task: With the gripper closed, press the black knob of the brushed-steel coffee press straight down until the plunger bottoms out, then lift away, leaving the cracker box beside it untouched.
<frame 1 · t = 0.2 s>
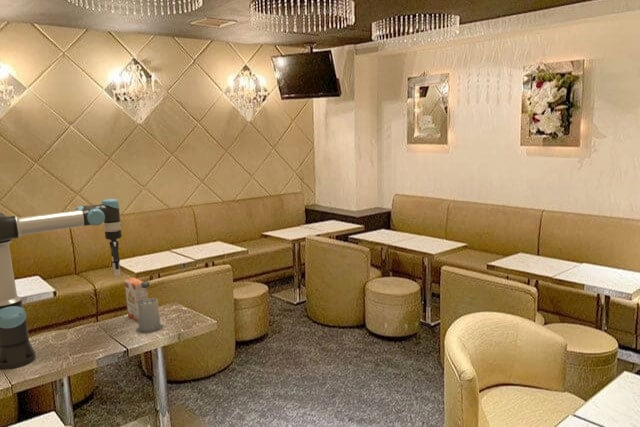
hand: (116, 272, 264), 29 cm above the table, fingers open, 13 cm apart
coaster: (149, 329, 263), on the table
cracker box: (138, 319, 279), on the table
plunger: (146, 294, 260), point 18 cm above the table, slide at 0.0 cm
carafe: (149, 328, 263), resting on coaster
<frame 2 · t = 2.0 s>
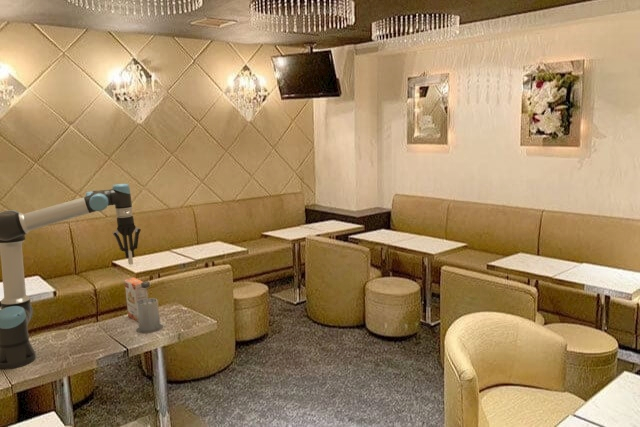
hand: (130, 263, 256), 34 cm above the table, fingers closed
nothing on the table moved.
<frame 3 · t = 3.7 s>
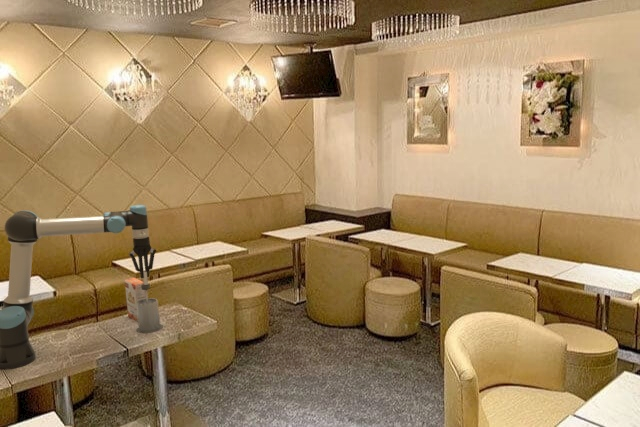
hand: (145, 284, 259), 24 cm above the table, fingers closed
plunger: (146, 296, 260), point 17 cm above the table, slide at 1.0 cm, touching gripper
everything else where it was.
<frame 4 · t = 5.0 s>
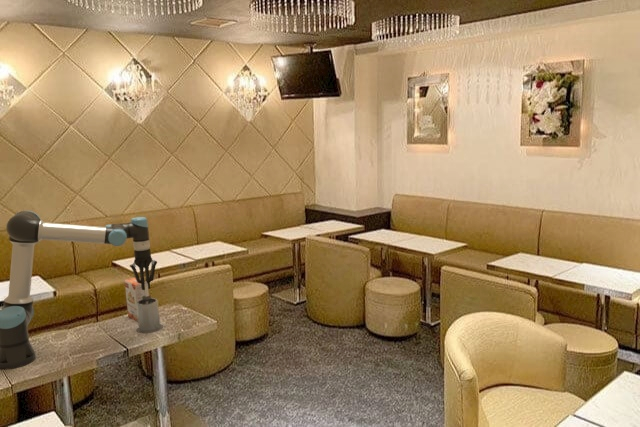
hand: (146, 295, 260), 18 cm above the table, fingers closed
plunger: (147, 307, 261), point 11 cm above the table, slide at 6.9 cm, touching gripper
everything else where it was.
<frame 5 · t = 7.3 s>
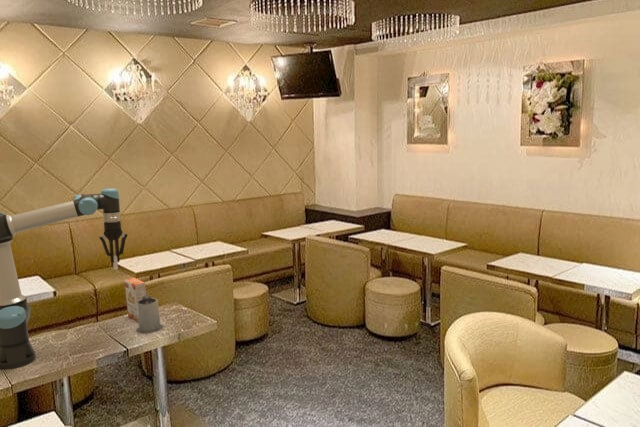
hand: (115, 268, 256), 32 cm above the table, fingers closed
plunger: (147, 307, 261), point 11 cm above the table, slide at 6.9 cm
everything else where it was.
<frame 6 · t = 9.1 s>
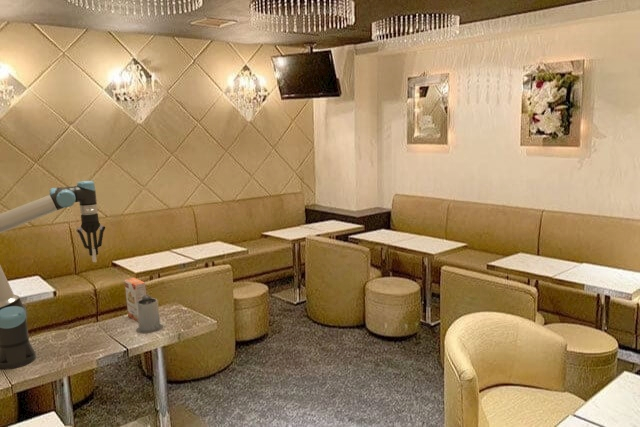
hand: (94, 261, 255), 36 cm above the table, fingers closed
nothing on the table moved.
at the end: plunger slide at 6.9 cm; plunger touching nothing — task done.
